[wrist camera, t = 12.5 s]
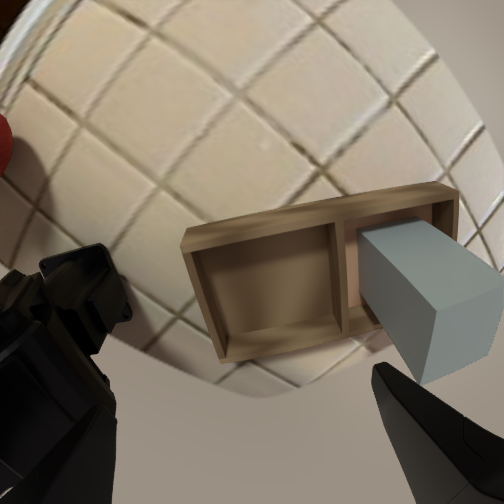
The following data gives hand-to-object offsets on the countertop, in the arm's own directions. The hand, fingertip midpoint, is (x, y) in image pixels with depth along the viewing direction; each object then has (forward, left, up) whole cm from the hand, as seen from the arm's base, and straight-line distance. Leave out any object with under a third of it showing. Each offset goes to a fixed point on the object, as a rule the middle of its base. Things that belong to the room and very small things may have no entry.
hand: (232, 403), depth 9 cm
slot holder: (+6, -3, -13) cm, 15 cm away
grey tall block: (+11, -3, -12) cm, 17 cm away
